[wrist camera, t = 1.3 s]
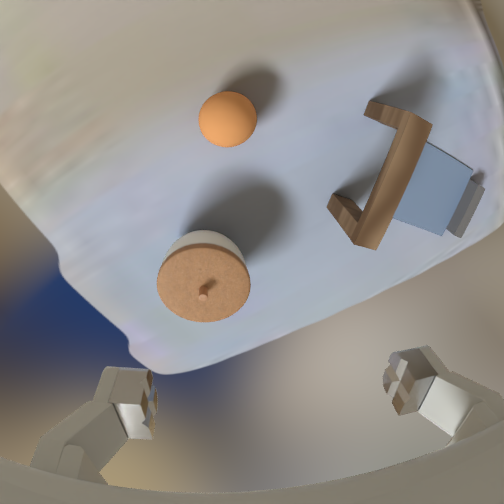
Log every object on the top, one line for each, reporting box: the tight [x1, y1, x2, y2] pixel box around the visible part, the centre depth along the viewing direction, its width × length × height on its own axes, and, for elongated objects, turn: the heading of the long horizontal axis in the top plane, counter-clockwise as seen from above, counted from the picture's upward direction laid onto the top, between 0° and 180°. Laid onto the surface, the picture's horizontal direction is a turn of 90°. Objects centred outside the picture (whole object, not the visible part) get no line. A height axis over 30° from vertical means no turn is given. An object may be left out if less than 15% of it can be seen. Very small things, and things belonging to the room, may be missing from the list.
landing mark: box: [393, 142, 473, 236], centre depth 41 cm, size 12×12×1 cm
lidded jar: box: [157, 230, 251, 322], centre depth 39 cm, size 11×11×9 cm
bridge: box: [327, 101, 432, 250], centre depth 34 cm, size 3×15×10 cm, turn 162°
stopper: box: [446, 179, 485, 238], centre depth 42 cm, size 9×2×2 cm, turn 162°
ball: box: [199, 91, 257, 147], centre depth 31 cm, size 6×6×6 cm
